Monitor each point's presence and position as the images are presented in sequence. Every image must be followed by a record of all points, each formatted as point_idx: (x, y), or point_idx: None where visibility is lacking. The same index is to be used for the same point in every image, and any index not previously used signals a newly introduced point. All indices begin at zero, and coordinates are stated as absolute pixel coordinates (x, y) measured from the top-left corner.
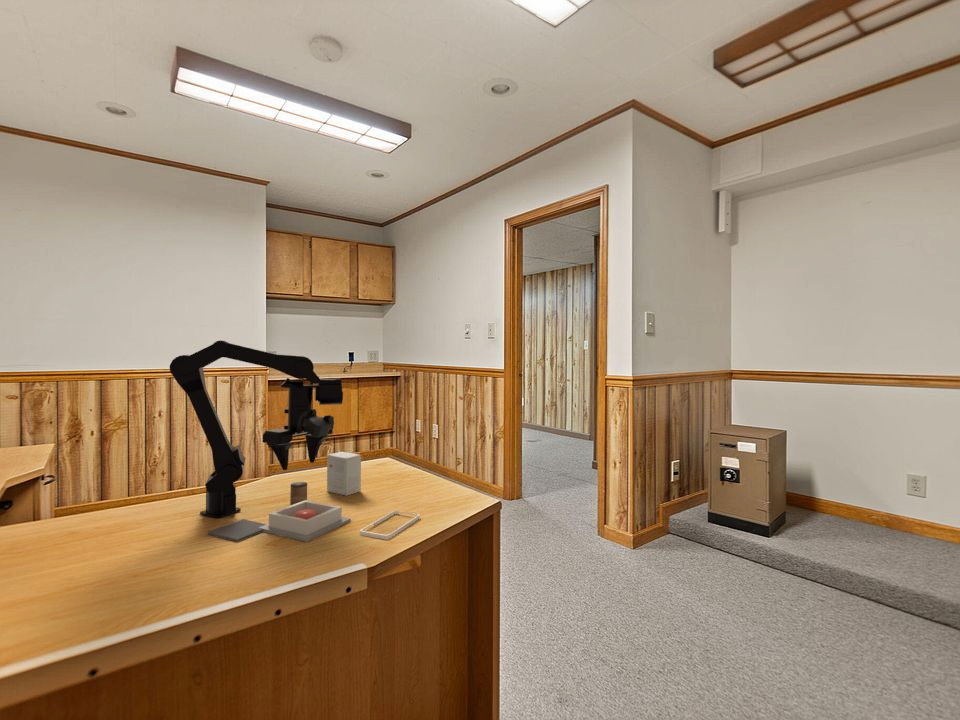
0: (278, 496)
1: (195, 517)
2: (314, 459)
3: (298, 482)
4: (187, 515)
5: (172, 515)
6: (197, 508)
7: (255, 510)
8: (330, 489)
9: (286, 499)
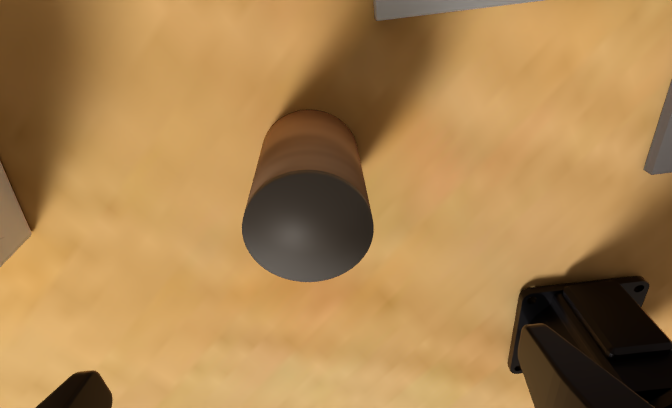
0: (280, 330)
1: None
2: (51, 402)
3: (283, 264)
4: None
5: None
6: None
7: (485, 252)
8: (11, 215)
9: None
